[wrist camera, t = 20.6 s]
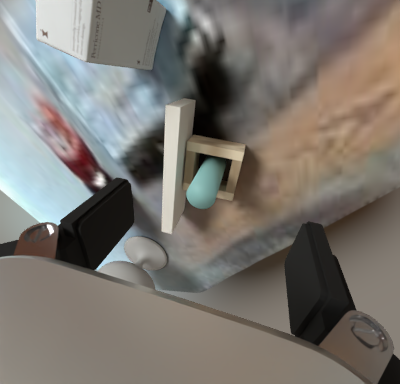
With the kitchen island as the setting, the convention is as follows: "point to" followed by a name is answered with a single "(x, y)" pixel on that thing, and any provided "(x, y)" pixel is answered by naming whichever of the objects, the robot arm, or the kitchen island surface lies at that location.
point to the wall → (175, 160)
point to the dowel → (206, 182)
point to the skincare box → (102, 30)
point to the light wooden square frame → (216, 149)
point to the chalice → (138, 261)
